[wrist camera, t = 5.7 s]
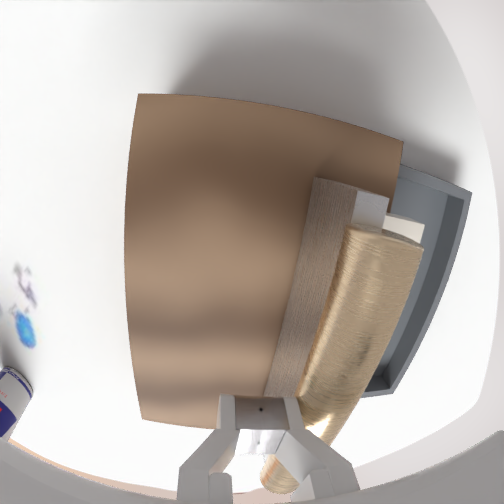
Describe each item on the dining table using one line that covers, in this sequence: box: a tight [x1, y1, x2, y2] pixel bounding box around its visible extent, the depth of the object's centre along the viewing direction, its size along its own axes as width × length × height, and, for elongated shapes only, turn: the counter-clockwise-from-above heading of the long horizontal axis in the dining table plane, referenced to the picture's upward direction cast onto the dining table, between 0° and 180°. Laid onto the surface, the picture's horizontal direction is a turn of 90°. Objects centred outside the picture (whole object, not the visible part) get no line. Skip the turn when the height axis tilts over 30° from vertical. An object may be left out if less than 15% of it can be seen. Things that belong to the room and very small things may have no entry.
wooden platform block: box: [124, 94, 403, 429], centre depth 17 cm, size 22×14×5 cm, turn 171°
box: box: [361, 164, 472, 398], centre depth 20 cm, size 20×9×2 cm, turn 171°
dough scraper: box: [260, 177, 424, 494], centre depth 12 cm, size 16×2×7 cm, turn 171°
